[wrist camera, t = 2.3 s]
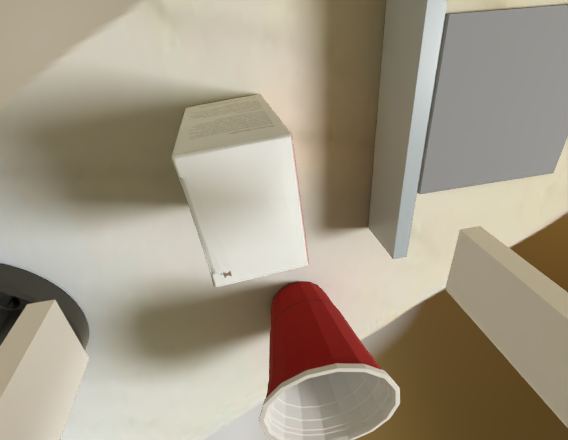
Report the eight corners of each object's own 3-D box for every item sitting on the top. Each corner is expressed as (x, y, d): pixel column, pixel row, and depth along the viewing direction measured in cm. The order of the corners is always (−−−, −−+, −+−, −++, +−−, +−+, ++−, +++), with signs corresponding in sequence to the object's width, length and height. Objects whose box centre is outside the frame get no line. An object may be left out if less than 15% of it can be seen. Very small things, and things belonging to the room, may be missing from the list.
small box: (278, 190, 28) (311, 269, 19) (211, 205, 27) (214, 292, 19) (262, 90, 24) (295, 132, 15) (183, 105, 23) (169, 157, 14)
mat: (417, 192, 31) (419, 194, 31) (445, 14, 24) (449, 14, 23) (549, 171, 33) (553, 173, 32) (613, 0, 25) (619, 0, 25)
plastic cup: (225, 290, 32) (234, 414, 22) (327, 244, 32) (384, 347, 22) (269, 352, 38) (292, 472, 28) (356, 313, 38) (412, 420, 28)
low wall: (368, 227, 32) (393, 258, 28) (389, -36, 21) (434, -50, 17) (380, 225, 32) (406, 256, 28) (406, -37, 22) (455, -51, 17)
